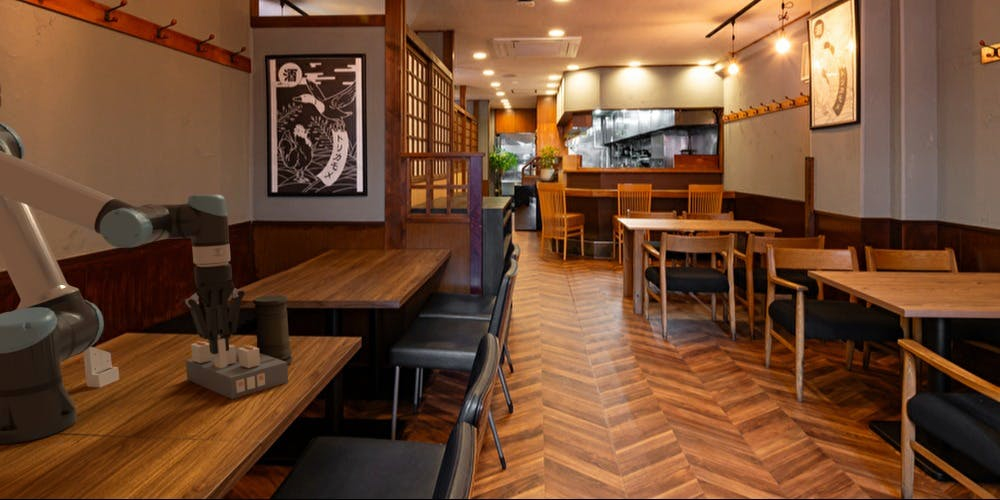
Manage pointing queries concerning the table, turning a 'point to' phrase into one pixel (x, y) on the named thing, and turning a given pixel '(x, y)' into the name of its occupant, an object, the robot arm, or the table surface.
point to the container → (273, 327)
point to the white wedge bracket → (99, 368)
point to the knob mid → (231, 355)
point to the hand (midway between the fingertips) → (221, 366)
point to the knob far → (201, 352)
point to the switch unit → (238, 375)
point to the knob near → (249, 356)
